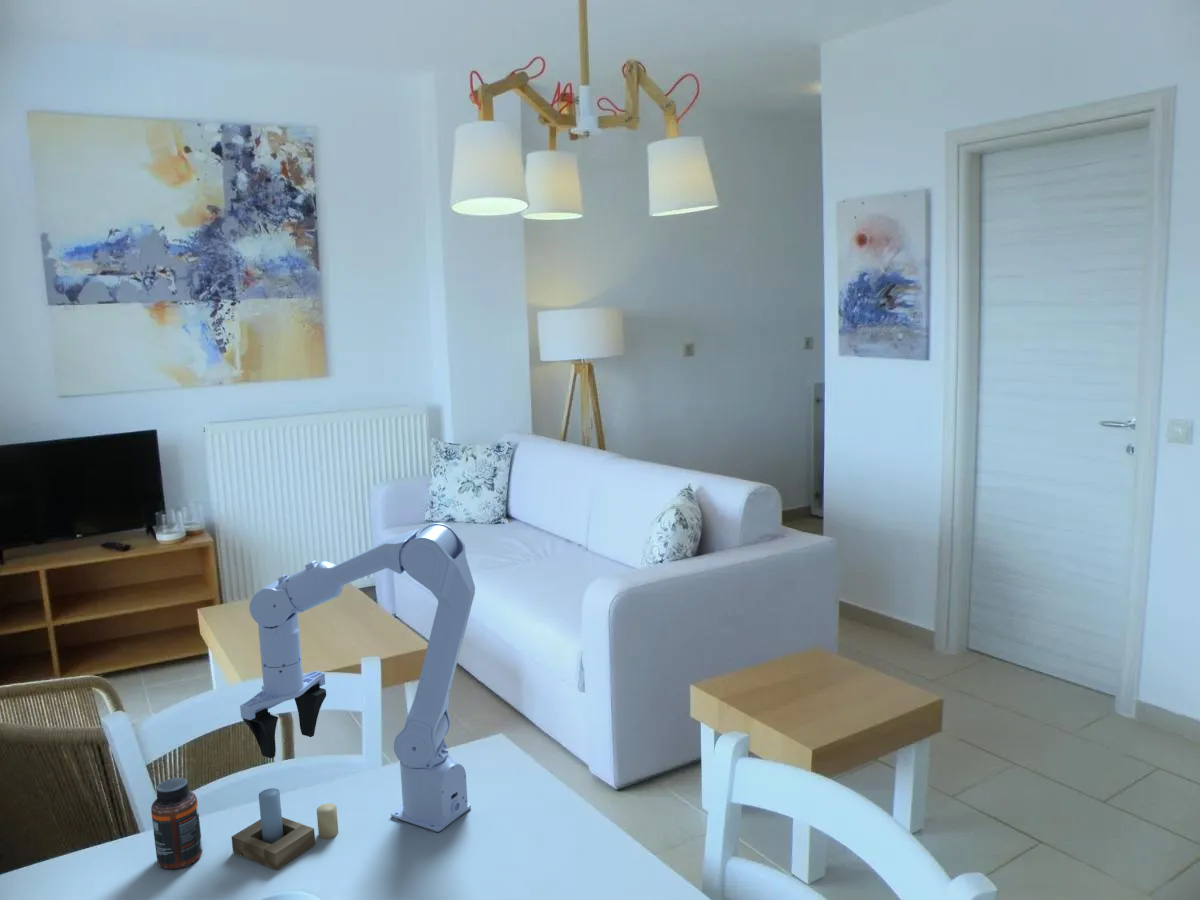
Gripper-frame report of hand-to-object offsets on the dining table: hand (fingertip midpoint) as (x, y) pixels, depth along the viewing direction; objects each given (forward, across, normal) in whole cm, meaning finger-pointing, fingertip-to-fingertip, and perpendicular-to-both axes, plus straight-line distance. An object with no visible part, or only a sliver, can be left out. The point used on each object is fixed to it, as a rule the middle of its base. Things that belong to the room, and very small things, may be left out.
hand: (288, 745), depth 144 cm
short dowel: (+10, +2, +10) cm, 15 cm away
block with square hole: (+10, +9, +6) cm, 15 cm away
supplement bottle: (+11, +17, -4) cm, 20 cm away
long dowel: (+10, +9, +6) cm, 15 cm away
